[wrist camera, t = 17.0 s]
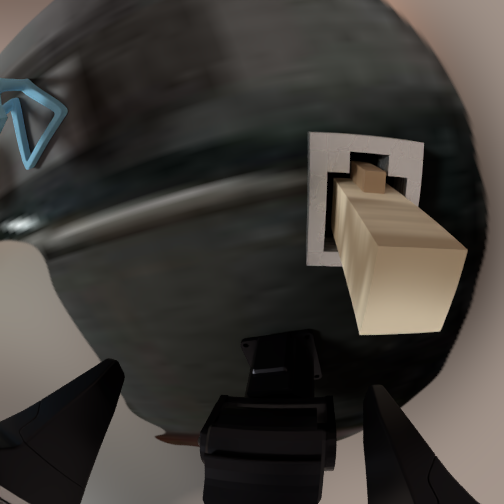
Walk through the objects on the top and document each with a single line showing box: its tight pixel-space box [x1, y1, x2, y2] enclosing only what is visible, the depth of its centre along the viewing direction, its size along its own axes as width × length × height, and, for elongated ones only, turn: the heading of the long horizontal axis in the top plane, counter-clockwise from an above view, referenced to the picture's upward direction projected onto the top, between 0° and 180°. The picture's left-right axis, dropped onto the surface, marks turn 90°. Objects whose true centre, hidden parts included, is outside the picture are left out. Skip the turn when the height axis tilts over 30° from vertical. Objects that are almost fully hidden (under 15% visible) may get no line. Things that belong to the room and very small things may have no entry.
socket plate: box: [306, 132, 424, 266], centre depth 17 cm, size 8×7×2 cm
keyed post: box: [331, 161, 468, 335], centre depth 13 cm, size 5×4×11 cm
